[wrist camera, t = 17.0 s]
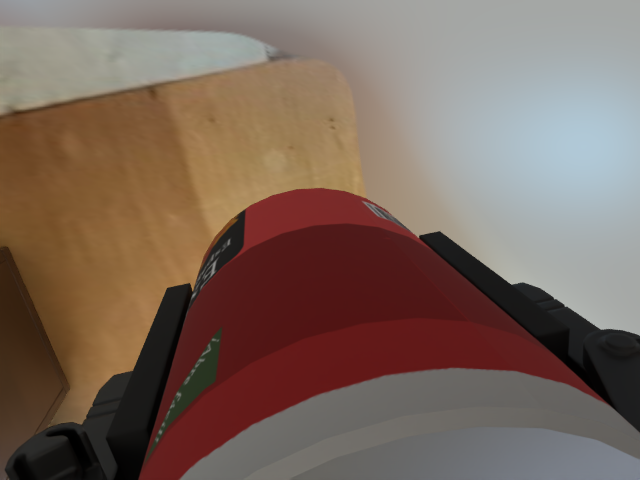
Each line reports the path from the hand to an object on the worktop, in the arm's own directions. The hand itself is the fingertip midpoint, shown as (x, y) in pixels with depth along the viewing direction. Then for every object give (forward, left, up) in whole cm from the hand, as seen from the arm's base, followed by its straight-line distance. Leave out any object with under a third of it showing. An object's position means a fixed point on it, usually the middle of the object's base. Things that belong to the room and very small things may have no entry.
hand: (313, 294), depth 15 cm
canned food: (0, 0, -1) cm, 1 cm away
